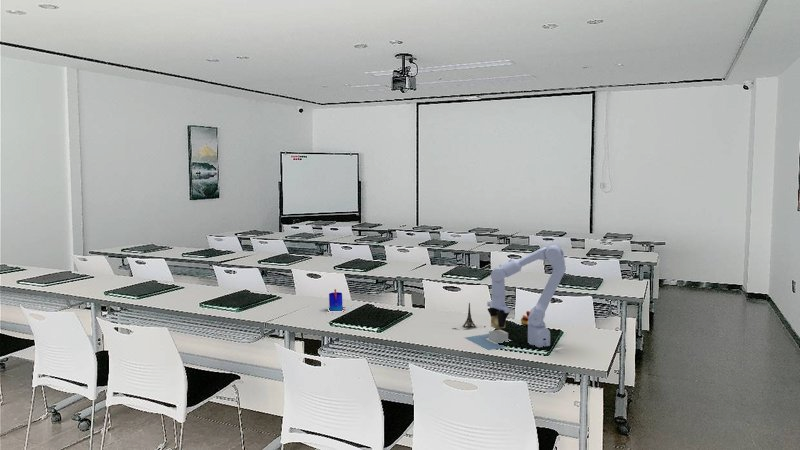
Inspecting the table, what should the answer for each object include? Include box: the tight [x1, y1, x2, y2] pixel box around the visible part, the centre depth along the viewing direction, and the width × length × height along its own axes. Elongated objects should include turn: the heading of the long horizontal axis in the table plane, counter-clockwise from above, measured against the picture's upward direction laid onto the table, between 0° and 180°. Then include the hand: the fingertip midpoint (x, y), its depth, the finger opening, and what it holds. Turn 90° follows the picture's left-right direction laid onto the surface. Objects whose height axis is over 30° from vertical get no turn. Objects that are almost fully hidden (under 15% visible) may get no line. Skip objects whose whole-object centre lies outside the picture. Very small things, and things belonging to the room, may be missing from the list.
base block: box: [488, 329, 509, 343], centre depth 249 cm, size 6×6×4 cm
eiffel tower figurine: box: [451, 302, 486, 331], centre depth 273 cm, size 15×10×13 cm
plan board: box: [464, 333, 512, 351], centre depth 248 cm, size 20×16×1 cm
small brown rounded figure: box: [520, 310, 530, 326], centre depth 276 cm, size 8×10×7 cm
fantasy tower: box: [328, 288, 346, 312], centre depth 311 cm, size 12×12×12 cm
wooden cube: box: [490, 316, 507, 330], centre depth 249 cm, size 4×4×4 cm
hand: (498, 325), depth 249 cm, fingers closed on wooden cube, 4 cm apart
